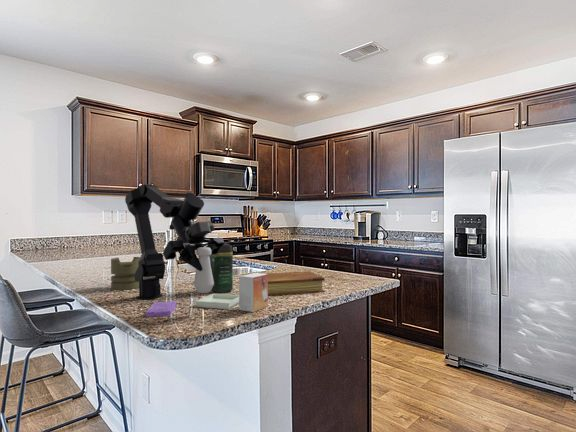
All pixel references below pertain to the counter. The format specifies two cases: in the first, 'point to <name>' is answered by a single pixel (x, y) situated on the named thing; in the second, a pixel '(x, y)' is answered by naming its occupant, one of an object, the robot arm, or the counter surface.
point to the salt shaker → (204, 271)
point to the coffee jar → (223, 269)
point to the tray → (218, 301)
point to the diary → (294, 283)
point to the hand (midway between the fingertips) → (206, 269)
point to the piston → (124, 274)
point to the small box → (253, 292)
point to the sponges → (161, 309)
